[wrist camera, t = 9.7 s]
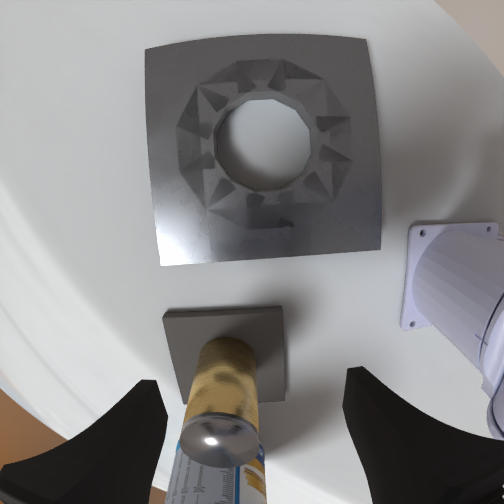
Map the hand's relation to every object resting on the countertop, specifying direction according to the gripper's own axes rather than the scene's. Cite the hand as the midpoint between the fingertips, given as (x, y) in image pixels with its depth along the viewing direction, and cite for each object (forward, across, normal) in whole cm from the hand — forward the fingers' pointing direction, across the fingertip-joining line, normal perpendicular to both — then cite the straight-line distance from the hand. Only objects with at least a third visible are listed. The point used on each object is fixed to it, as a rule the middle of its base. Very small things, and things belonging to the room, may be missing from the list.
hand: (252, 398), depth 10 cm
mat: (+10, +2, +5) cm, 11 cm away
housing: (+10, -2, -10) cm, 14 cm away
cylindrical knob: (+9, +2, +5) cm, 10 cm away
